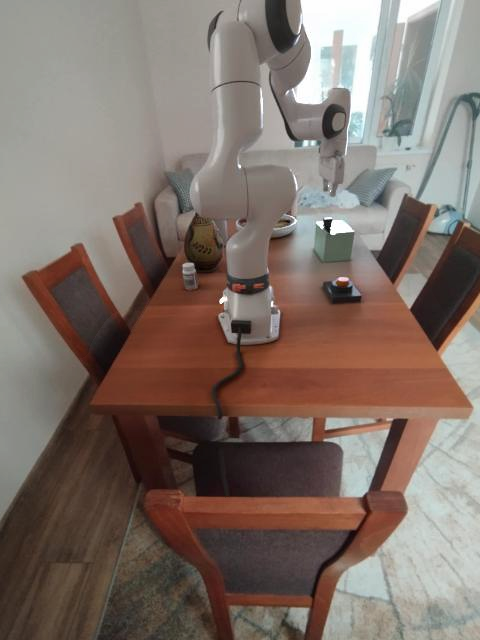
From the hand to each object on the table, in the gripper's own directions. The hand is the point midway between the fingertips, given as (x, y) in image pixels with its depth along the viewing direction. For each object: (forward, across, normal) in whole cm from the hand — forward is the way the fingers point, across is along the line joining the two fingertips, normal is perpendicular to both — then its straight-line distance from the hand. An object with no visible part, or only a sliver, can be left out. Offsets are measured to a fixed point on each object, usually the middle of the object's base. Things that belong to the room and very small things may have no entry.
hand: (328, 193), depth 123 cm
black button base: (+22, -37, +4) cm, 44 cm away
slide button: (+12, 0, -1) cm, 12 cm away
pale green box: (+23, 0, -4) cm, 23 cm away
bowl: (+24, +38, +19) cm, 48 cm away
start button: (+19, -37, +4) cm, 42 cm away
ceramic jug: (+23, -5, +48) cm, 54 cm away
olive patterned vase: (+23, +23, +45) cm, 56 cm away
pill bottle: (+23, -23, +54) cm, 63 cm away
